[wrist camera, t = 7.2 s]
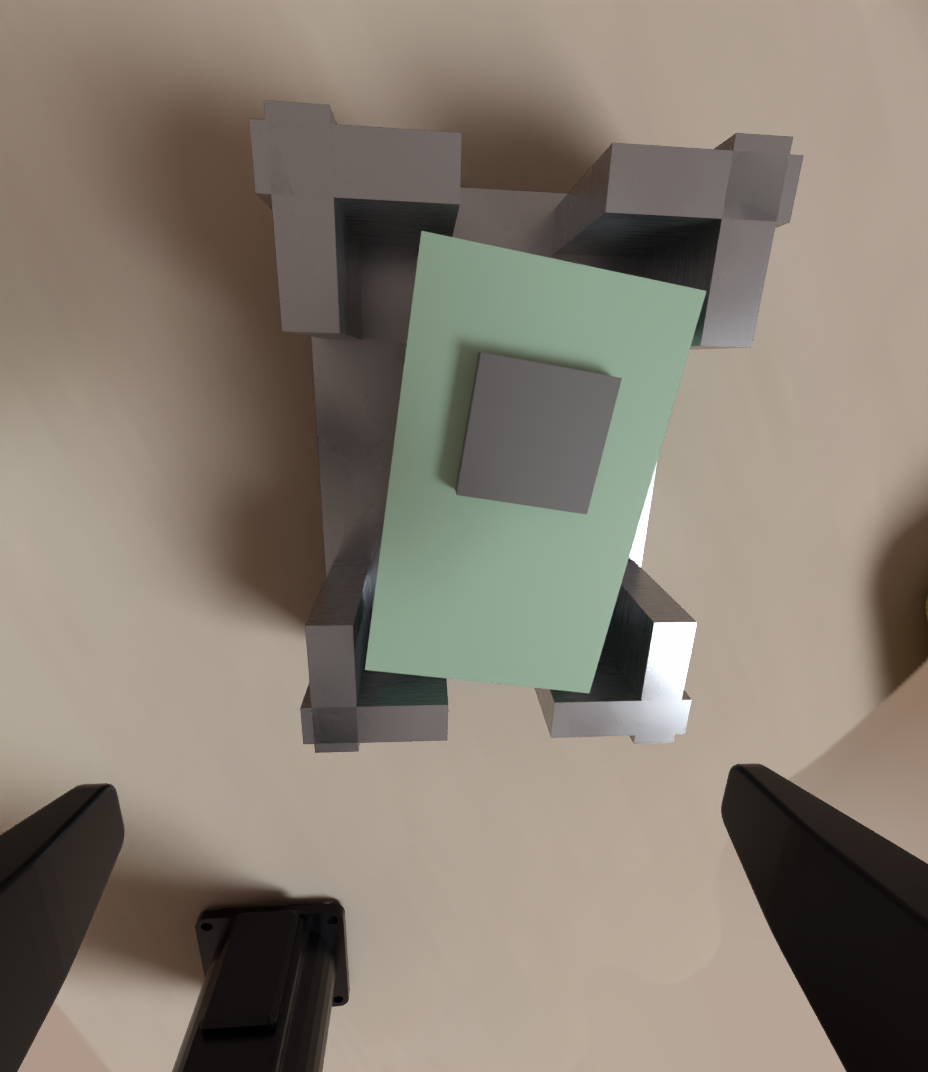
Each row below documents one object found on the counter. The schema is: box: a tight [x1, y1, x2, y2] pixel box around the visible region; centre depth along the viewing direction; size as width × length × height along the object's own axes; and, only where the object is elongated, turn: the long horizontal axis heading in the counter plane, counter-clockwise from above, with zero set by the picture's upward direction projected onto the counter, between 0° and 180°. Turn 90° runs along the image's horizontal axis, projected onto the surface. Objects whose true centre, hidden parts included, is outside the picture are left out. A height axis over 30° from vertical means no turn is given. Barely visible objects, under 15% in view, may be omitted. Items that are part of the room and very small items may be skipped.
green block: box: [365, 231, 706, 693], centre depth 13 cm, size 10×6×4 cm, turn 170°
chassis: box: [249, 100, 804, 753], centre depth 15 cm, size 15×11×6 cm
